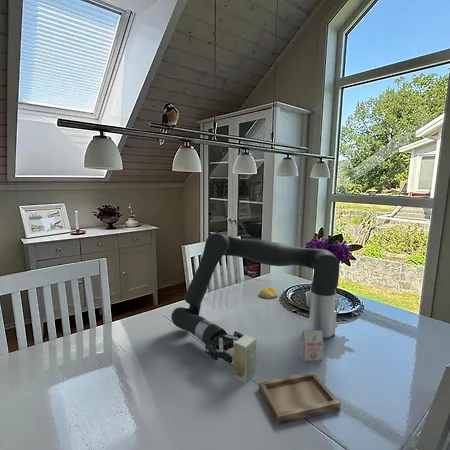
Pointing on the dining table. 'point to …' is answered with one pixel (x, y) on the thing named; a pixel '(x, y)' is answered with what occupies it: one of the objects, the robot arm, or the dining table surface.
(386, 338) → the dining table surface
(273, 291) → the bread roll
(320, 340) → the white boxy package
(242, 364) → the skincare box
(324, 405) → the walnut tray
